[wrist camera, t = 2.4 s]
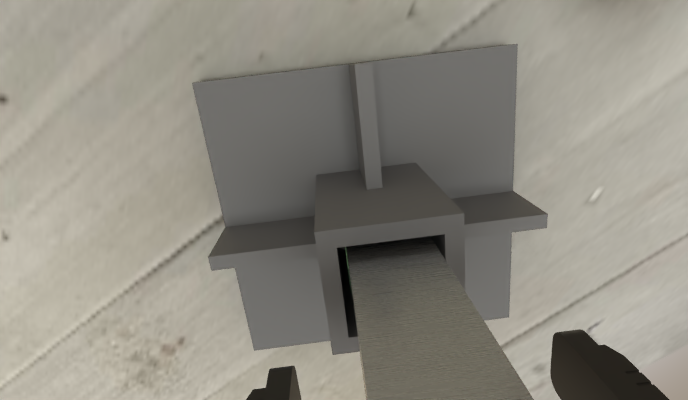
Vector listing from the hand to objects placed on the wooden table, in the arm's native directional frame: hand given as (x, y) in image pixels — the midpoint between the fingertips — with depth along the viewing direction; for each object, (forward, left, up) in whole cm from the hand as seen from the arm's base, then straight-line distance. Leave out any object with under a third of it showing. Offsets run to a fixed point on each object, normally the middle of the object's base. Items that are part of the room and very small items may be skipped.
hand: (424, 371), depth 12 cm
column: (0, 0, -13) cm, 13 cm away
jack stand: (0, 0, -15) cm, 15 cm away
